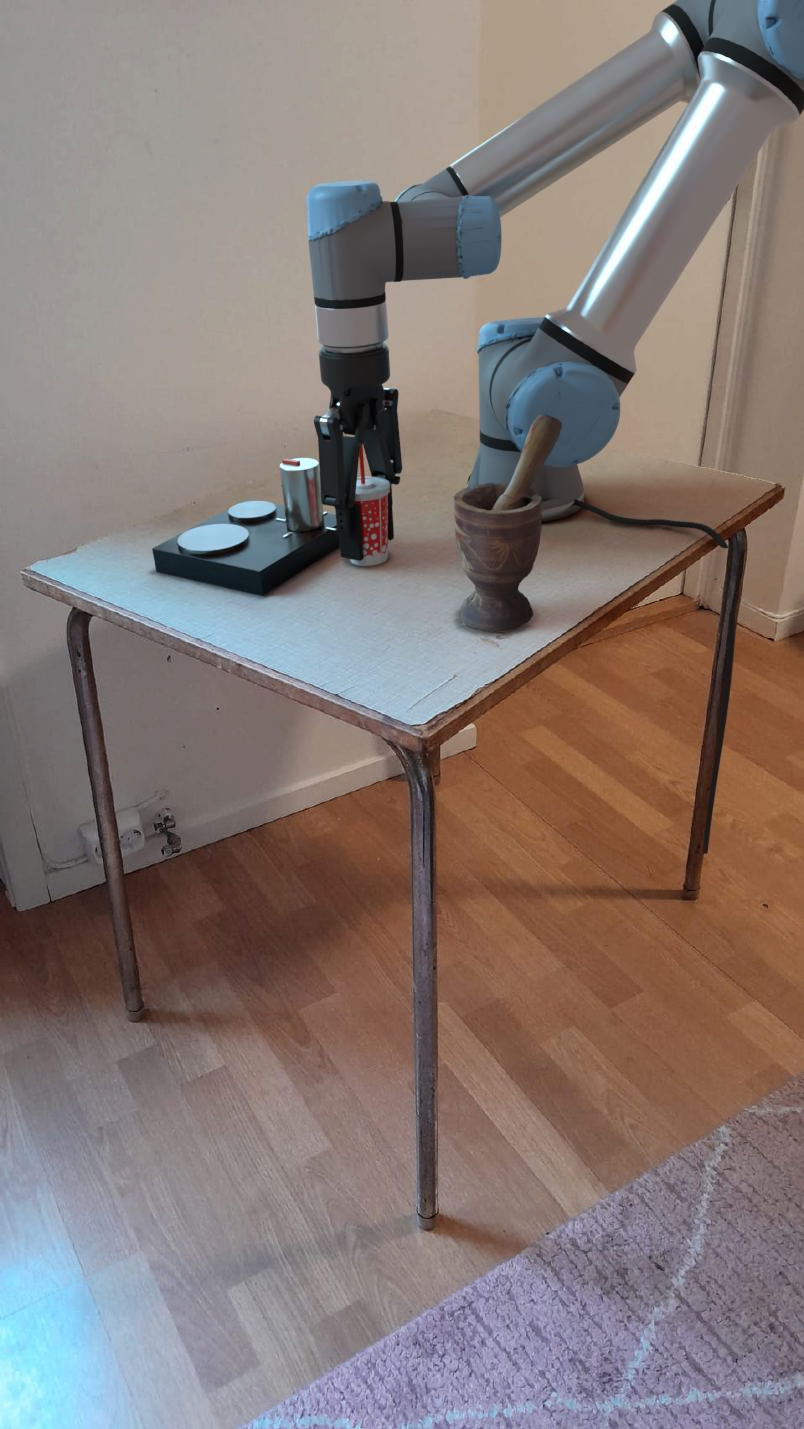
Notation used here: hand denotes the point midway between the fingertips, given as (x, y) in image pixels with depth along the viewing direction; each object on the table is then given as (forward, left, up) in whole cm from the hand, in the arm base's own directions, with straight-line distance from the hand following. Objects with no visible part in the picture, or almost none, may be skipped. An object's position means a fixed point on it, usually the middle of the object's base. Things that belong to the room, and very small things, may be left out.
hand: (367, 547), depth 123 cm
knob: (+9, 0, +2) cm, 9 cm away
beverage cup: (0, 0, -2) cm, 2 cm away
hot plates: (+16, +5, +2) cm, 17 cm away
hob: (+13, +5, -1) cm, 14 cm away
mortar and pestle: (-21, +6, -2) cm, 22 cm away
